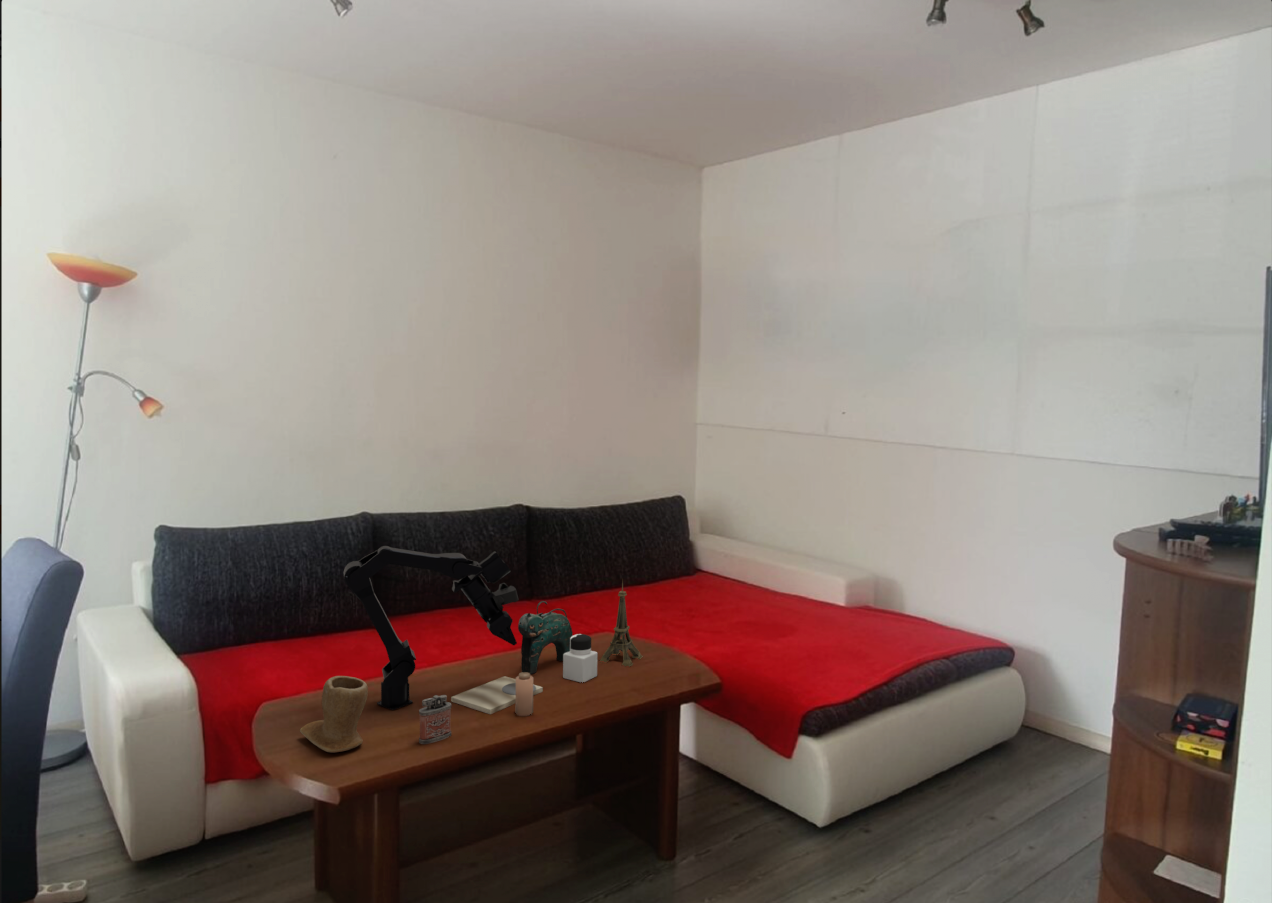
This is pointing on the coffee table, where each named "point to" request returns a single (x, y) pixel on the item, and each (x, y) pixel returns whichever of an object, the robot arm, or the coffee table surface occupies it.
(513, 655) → the coffee table surface
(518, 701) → the pink cylindrical bottle
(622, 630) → the eiffel tower
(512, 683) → the serving board
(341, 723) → the stone cup
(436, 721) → the lighter
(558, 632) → the ceramic cat
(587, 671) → the medicine bottle
